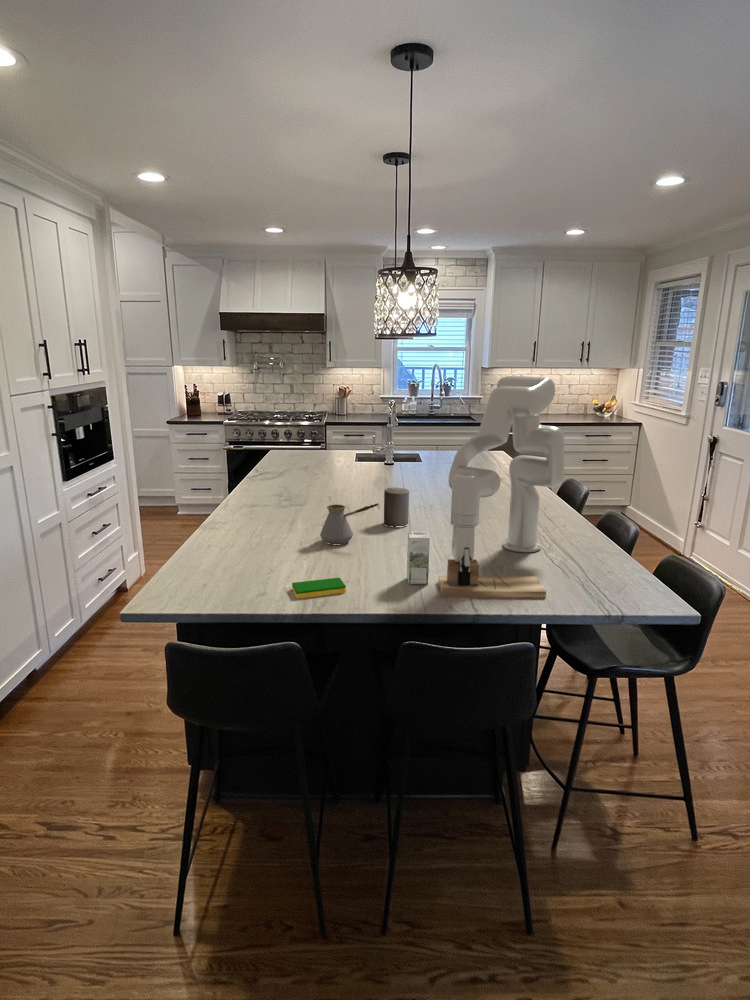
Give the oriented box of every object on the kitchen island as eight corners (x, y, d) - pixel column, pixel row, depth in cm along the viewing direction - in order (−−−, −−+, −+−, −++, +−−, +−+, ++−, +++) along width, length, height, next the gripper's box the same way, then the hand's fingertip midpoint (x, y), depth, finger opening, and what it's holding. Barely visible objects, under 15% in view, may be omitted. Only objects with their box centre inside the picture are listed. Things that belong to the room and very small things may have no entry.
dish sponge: (292, 590, 162) (291, 582, 161) (339, 584, 166) (339, 577, 165) (296, 600, 155) (296, 591, 155) (346, 594, 159) (346, 586, 159)
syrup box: (426, 577, 170) (427, 530, 167) (428, 585, 164) (429, 536, 161) (406, 577, 170) (407, 530, 166) (408, 585, 164) (409, 537, 161)
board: (438, 582, 167) (438, 575, 166) (534, 582, 167) (535, 576, 166) (442, 597, 156) (442, 591, 156) (545, 597, 156) (546, 591, 156)
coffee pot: (315, 545, 198) (314, 503, 195) (326, 536, 209) (325, 495, 205) (375, 550, 193) (375, 507, 190) (383, 540, 204) (383, 499, 200)
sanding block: (447, 579, 163) (447, 559, 162) (475, 579, 163) (476, 559, 162) (449, 585, 159) (449, 565, 157) (478, 585, 159) (479, 565, 157)
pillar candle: (379, 525, 222) (379, 487, 218) (390, 519, 230) (391, 482, 226) (402, 529, 217) (403, 491, 213) (412, 523, 226) (413, 485, 222)
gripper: (447, 510, 165) (445, 570, 169) (455, 527, 148) (452, 593, 153) (473, 510, 165) (470, 570, 169) (484, 527, 148) (481, 593, 153)
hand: (462, 580), depth 161 cm, fingers closed on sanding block, 4 cm apart
